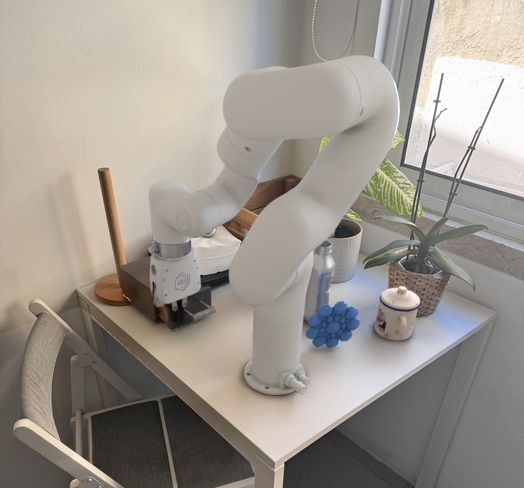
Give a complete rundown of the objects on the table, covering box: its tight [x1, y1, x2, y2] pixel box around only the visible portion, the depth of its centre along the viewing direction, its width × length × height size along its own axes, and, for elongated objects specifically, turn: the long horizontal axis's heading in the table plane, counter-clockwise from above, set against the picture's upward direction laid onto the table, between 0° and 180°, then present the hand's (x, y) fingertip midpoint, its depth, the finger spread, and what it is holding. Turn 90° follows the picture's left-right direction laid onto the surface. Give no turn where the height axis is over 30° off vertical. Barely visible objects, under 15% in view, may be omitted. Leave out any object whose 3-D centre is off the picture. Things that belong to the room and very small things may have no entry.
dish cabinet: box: [118, 255, 164, 324], centre depth 125 cm, size 15×13×9 cm
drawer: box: [157, 284, 217, 332], centre depth 119 cm, size 19×11×7 cm, turn 42°
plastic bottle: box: [303, 239, 336, 323], centre depth 117 cm, size 6×7×20 cm
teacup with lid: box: [374, 285, 421, 342], centre depth 116 cm, size 12×9×12 cm
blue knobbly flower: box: [305, 300, 361, 349], centre depth 112 cm, size 12×7×12 cm, turn 93°
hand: (177, 321), depth 113 cm, fingers closed
